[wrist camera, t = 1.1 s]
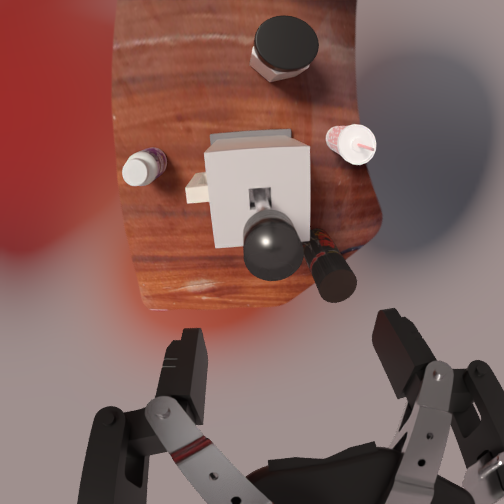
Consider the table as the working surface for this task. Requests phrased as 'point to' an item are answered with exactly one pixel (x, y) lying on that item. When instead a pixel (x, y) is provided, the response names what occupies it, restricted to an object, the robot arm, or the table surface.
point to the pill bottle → (144, 167)
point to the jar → (283, 48)
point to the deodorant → (328, 267)
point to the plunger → (270, 240)
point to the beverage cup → (352, 143)
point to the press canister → (253, 180)
